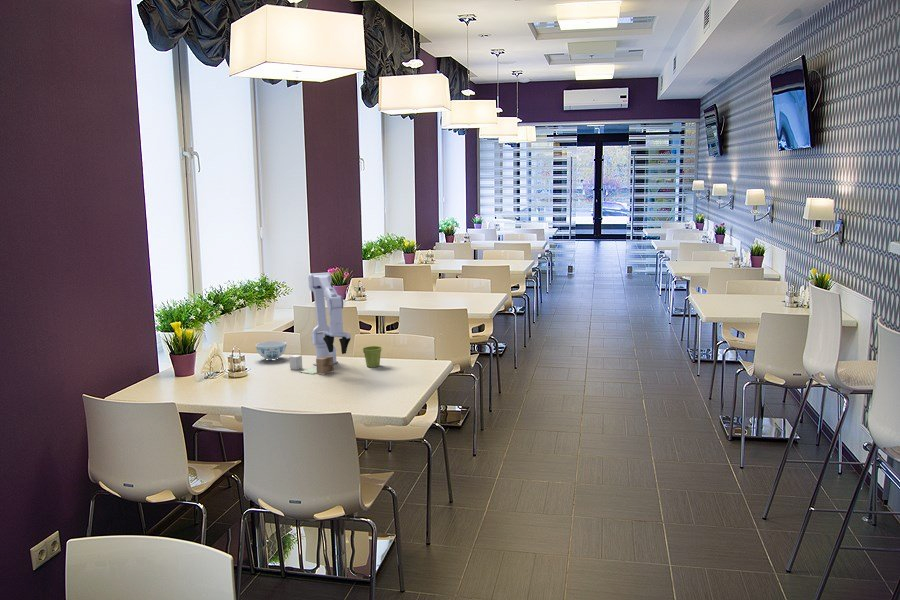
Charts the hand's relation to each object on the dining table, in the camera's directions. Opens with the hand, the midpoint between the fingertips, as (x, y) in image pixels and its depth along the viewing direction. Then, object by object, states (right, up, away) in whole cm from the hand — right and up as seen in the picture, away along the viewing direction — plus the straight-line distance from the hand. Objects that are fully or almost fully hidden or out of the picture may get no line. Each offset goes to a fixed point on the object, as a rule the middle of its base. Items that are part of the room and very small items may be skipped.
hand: (337, 352), depth 354 cm
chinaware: (-38, -6, +37) cm, 54 cm away
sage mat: (-12, -9, +9) cm, 18 cm away
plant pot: (+14, -8, +16) cm, 23 cm away
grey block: (-22, -8, +15) cm, 28 cm away
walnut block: (-6, -9, +6) cm, 13 cm away
